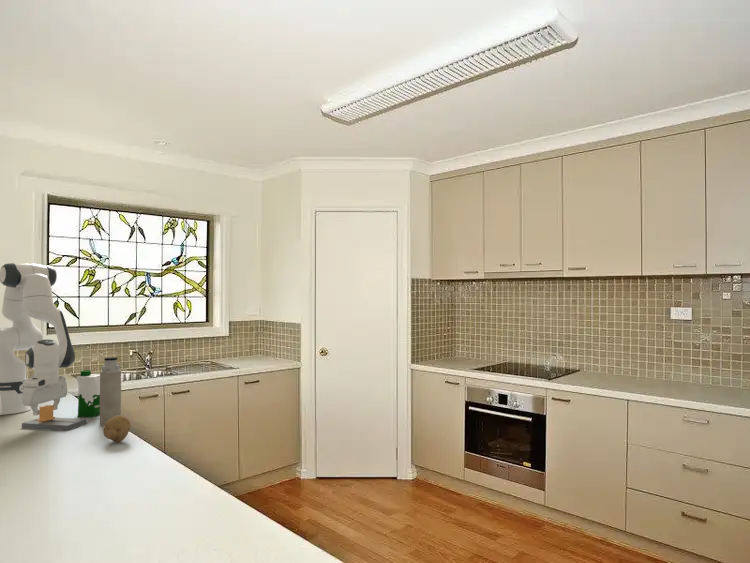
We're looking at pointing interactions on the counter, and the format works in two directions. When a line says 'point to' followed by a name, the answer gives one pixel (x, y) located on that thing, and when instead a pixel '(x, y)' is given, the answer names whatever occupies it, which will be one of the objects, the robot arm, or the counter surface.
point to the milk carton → (88, 394)
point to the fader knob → (46, 413)
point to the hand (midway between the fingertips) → (45, 412)
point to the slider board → (55, 423)
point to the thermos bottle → (110, 390)
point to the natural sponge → (117, 428)
